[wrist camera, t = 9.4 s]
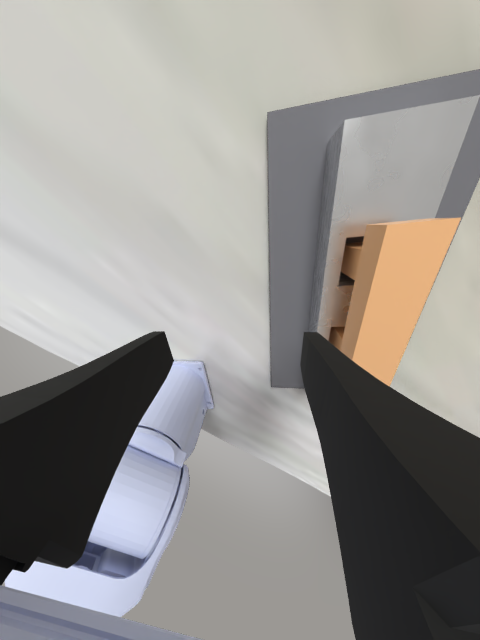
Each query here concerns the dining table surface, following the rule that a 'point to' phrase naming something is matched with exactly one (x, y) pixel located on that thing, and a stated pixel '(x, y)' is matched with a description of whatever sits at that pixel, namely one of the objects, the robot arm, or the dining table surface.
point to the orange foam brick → (390, 289)
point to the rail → (380, 187)
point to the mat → (307, 186)
